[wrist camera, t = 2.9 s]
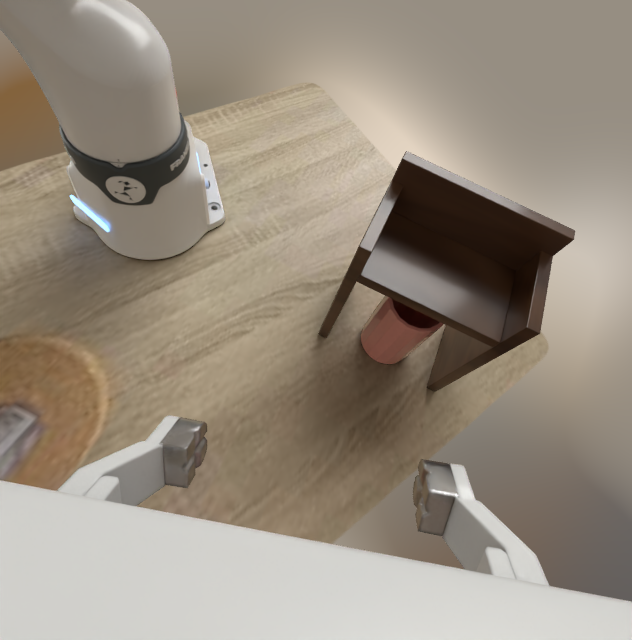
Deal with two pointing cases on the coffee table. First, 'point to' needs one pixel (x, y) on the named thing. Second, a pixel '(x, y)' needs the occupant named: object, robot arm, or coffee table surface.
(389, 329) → the cup
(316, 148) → the coffee table surface
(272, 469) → the coffee table surface
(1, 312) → the coffee table surface
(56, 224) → the coffee table surface
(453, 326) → the dark wooden stand
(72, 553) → the robot arm
